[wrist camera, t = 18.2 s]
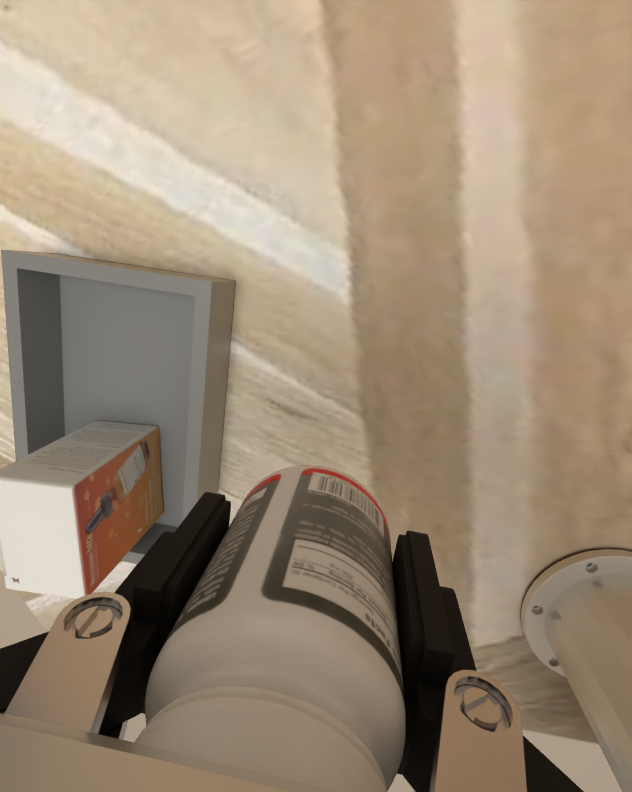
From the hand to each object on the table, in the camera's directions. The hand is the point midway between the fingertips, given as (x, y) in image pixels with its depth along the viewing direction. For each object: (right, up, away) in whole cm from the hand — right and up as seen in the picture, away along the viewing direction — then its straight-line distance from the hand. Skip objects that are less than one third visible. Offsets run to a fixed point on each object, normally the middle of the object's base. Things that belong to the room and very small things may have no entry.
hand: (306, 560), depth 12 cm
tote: (-14, +4, +23) cm, 27 cm away
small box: (-15, -1, +23) cm, 28 cm away
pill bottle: (0, 0, +2) cm, 2 cm away
